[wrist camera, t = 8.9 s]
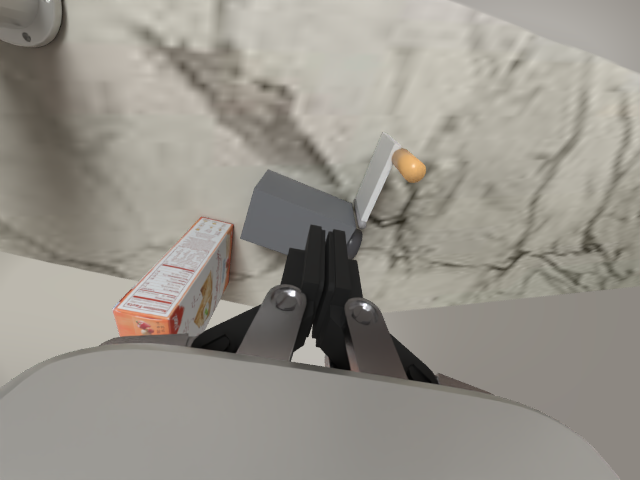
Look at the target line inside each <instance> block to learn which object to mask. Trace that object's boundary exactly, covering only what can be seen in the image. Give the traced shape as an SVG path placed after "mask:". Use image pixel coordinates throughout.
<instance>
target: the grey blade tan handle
mask: <svg viewBox="0 0 640 480" xmlns="http://www.w3.org/2000/svg"><path fill="white" fill-rule="evenodd" d="M400 148H401V145H400V144H399V143H398V142H397V141H395V140H394V139H393V138H392V137H391V136H390V135H388V134H386V133H384V132H382V134H381V137H380V139H379V141H378V144H377V146H376V149H375V151H374V154H373V156H372V159H371V161H370V164H369V166H368V169H367V171H366V173H365V176H364V178H363V181H362V183H361V186H360V188H359V191H358V193H357V196H356V199H354V205H355V210H356V216H357V221H358V226H359V228H360V229H364V228H365V227H366V222H367V220H368V218H369V215H370V213H371V211H372V209H373V207H374V205H375V202H376V200H377V198H378V196H379V194H380V192H381V189H382V187H383V185H384V183H385V181H386V178H387V176H388V174H389V172H390V170H391V168H392V165H393V164H394V165H395V167H396V168H397V169H398V170H399V172H400V173H401V174H402V175H403V177H404V178H405V179H406V180H407V181H408V182H411V183H414V182H418V181H420V180H421V179H422V178H423V177H424V175H425V173H426V167H425V165H424V164H423V163H422V162H421V161H419V160H418V159H417V158H416V157H415V156H413V155H412V154H411V153H410V152H409V151H408V150H406V149H403V148H401V149H400Z"/></svg>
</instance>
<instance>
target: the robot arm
mask: <svg viewBox="0 0 640 480" xmlns="http://www.w3.org/2000/svg"><path fill="white" fill-rule="evenodd" d="M61 18H62V6H61V0H0V40H2V41H4V42H7V43H10V44H13V45H17V46H24V47H40V46H43V45H46V44H48V43H49V42H51V41H52V40H53V39H54V37H55V36H56V35H57V33H58V31H59V28H60V25H61ZM325 234H326V230H322V226H317V225H312V224H311V225H310V228H309V233H308V237H307V242H306V246H305V250H300V249H295V248H289V252H288V256H287V260H286V264H285V268H284V273H283V277H282V281H281V285H277V286H275V287H273V288H271V289H270V290H269V292H268V293H267V295H266V297H265V299H264V301H263V303H262V304H261V305H258V306H256V307H254V308H252V309H250V310H248V311H246V312H244V313H242V314H239V315H238V316H235V317H233V318H231V319H229V320H227V321H225V322H223V323H221V324H219V325H216V326H214V327H212V328H210V329H208V330H206V331H204V332H203V333H201V334H199V335H198V336H190V337H189V333H185V334H162V335H140V336H122V337H117V338H113V339H111V340H108V341H106V342H104V343H102V344H101V345H99V346H97V347H92V348H86V349H81V350H77V351H73V352H69V353H65V354H62V355H59V356H55V357H53V358H50V359H48V360H45V361H43V362H41V363H38V364H36V365H35V366H33V367H31V368H29V369H27V370H26V371H24V372H22V373H21V374H20V375H18V376H16V377H15V378H13V379H12V380H11V381H9V382H8V383H6V384H5V385H4V386H2V387H1V388H0V480H621V479H620V478H619V477H618V476H617V474H616V473H615V472H614V471H613V469H612V468H611V467H610V466H609V465H608V464H607V462H606V461H605V460H604V459H603V458H602V456H601V455H600V454H599V453H598V452H597V451H596V450H595V449H594V448H593V447H592V446H591V445H590V443H588V442H587V441H586V440H585V439H584V438H583V437H581V436H580V435H579V434H578V433H576V432H575V431H573V430H572V429H570V428H569V427H568V426H566V425H564V424H563V423H561V422H560V421H558V420H556V419H554V418H552V417H550V416H548V415H546V414H545V413H543V412H541V411H539V410H536V409H533V408H531V407H529V406H526V405H524V404H521V403H519V402H516V401H512V400H509V399H506V398H502V397H499V396H495V395H493V394H491V393H489V392H487V391H484V390H481V389H479V388H476V387H474V386H471V385H469V384H466V383H463V382H461V381H458V380H455V379H453V378H450V377H448V376H445V375H443V374H440V373H438V374H437V375H434V374H433V372H432V371H431V370H430V369H429V368H428V367H427V366H426V365H425V364H424V363H423V362H422V361H420V360H419V359H418V358H417V357H416V356H415V355H414V354H413V353H412V352H410V351H409V350H408V349H407V348H406V347H405V346H404V345H402V344H401V343H400V342H399V341H398V340H397V339H396V338H394V337H393V336H392V335H391V334H390V333H389V331H388V328H387V326H386V323H385V321H384V318H383V316H382V313H381V311H380V310H379V308H378V307H377V306H376V305H375V304H374V303H372V302H371V301H369V300H367V299H364V298H363V295H362V289H361V283H360V277H359V270H358V264H357V261H356V260H351V259H348V253H347V244H346V235H345V231H341V230H336V229H333V232H331V231H329V232H328V235H327V238H326V242H325ZM312 324H313V327H312ZM311 327H312V338H315V339H316V347H320V348H321V349H322V351H323V352H324V353H325V354H326V355H325V367H322V366H316V365H309V364H303V363H296V362H291V359H292V356H293V352H294V351H296V350H297V349H299V348H300V347H302V346H303V345H304V343H305V340H306V337H308V336H309V334H310V330H311Z"/></svg>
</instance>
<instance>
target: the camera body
mask: <svg viewBox="0 0 640 480" xmlns="http://www.w3.org/2000/svg"><path fill="white" fill-rule="evenodd" d="M311 224H312V225H317V226H322V230H326V234H325V242H326V238H327V235H328V232H329V231H331V232H333V229H336V230H341V231H345V235H346V244H347V253H348V259H351V260H352V259H353V258H354V257H355V256H356V254H357V252H358V250H359V248H360V245H361V241H362V231H361V230H358V229H356V225H355V219H354V214H353V208H352V203H349V202H347V201H344V200H342V199H339V198H337V197H334V196H332V195H330V194H327V193H325V192H322V191H320V190H317V189H315V188H312V187H310V186H307V185H305V184H303V183H300V182H298V181H295V180H293V179H290V178H288V177H285V176H283V175H281V174H278V173H276V172H273V171H271V170H267V172H266V173H265V175H264V176H263V177H262V179H261V180H260V181H259V183H258V184H257V185H256V187H255V188H254V191H253V195H252V198H251V202H250V205H249V209H248V213H247V216H246V220H245V223H244V227H243V230H242V234H241V237H240V239H243V240H246V241H249V242H251V243H254V244H257V245H260V246H263V247H266V248H269V249H271V250H274V251H277V252H280V253H283V254H286V255H288V252H289V248H295V249H300V250H305V246H306V242H307V237H308V233H309V228H310V225H311Z"/></svg>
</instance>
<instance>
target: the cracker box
mask: <svg viewBox="0 0 640 480" xmlns="http://www.w3.org/2000/svg"><path fill="white" fill-rule="evenodd" d="M232 236H233V224H230V223H226V222H222V221H218V220H213V219H209V218H205V217H200V219H199V220H198V221H197V222H196V223H195V224H194V225H193V226H192V227H191V228H190V229H189V230H188V231H187V232H186V233H185V234H184V235H183V236H182V237H181V238H180V239H179V240H178V241H177V242H176V243H175V244H174V245H173V246H172V247H171V249H170V250H169V251H168V252H167V253H166V254H165V255H164V256H163V257H162V258H161V259H160V260H159V261H158V262H157V263H156V264H155V265H154V266H153V267H152V268H151V269H150V270H149V271H148V272H147V273H146V274H145V275H144V276H143V277H142V278H141V279H140V280H139V282H138V283H137V284H136V285H135V286H134V287H133V288H132V289H131V290H130V291H129V292H128V293H127V294H126V295H125V296H124V297H123V298H122V299H121V300H120V301H119V302H118V303H117V304H116V305H115V306H114V307H113V309H112V310H113V314H114V317H115V321H116V324H117V328H118V332H119V335H120V337H122V336H140V335H162V334H185V333H189V337H190V336H198V335H199V334H201V333H203V332H204V330H205V329H206V327H207V324H208V323H209V320H210V319H211V317H212V315H213V312H214V310H215V308H216V306H217V304H218V302H219V301H220V299H221V297H222V295H223V293H224V291H225V289H226V287H227V285H228V283H229V271H230V259H231V248H232Z"/></svg>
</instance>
